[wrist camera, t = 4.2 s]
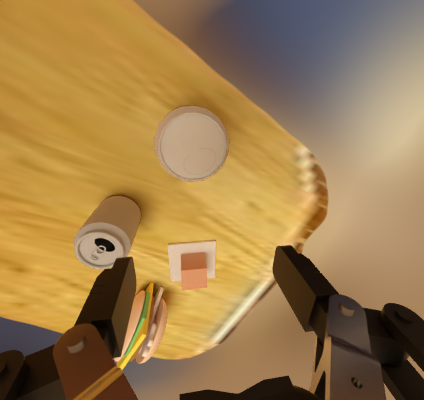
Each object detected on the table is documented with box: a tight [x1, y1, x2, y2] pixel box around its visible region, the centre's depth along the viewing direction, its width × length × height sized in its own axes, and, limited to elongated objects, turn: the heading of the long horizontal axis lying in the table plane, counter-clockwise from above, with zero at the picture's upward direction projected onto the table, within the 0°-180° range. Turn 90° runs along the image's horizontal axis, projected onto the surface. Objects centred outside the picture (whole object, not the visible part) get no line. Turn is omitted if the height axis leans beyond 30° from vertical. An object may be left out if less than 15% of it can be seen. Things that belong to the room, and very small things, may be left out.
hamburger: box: [114, 282, 167, 370], centre depth 44 cm, size 12×8×12 cm
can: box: [74, 196, 141, 269], centre depth 34 cm, size 8×8×12 cm
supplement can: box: [154, 105, 229, 182], centre depth 29 cm, size 8×8×15 cm
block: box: [181, 252, 207, 290], centre depth 43 cm, size 5×5×5 cm
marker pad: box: [168, 240, 216, 282], centre depth 46 cm, size 10×10×1 cm
